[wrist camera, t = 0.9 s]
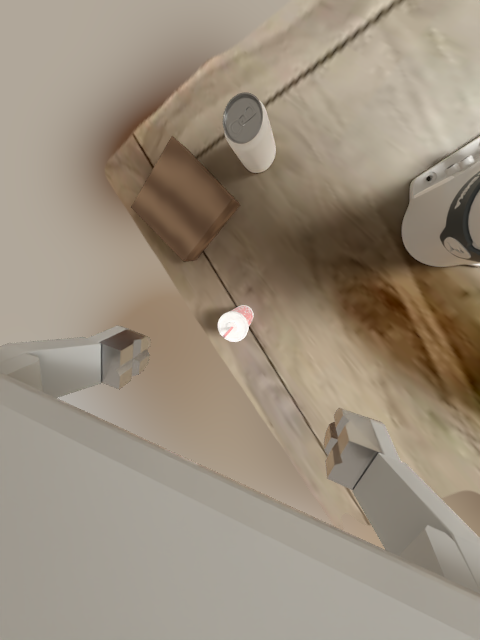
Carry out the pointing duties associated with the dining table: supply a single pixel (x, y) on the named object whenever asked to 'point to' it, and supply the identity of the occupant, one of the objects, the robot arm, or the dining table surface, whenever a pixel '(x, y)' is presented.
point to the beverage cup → (235, 323)
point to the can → (249, 132)
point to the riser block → (184, 202)
